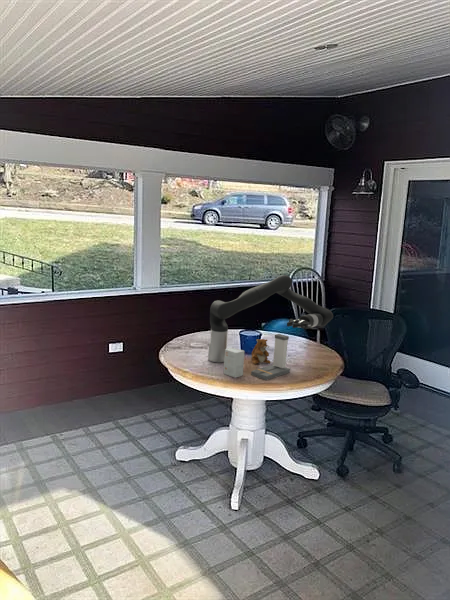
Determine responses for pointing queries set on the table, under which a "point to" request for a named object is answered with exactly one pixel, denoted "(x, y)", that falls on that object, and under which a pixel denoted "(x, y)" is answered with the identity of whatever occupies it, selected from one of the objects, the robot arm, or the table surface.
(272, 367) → the fader panel
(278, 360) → the grey tall block
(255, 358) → the stuffed squirrel
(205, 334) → the table surface
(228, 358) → the small box
